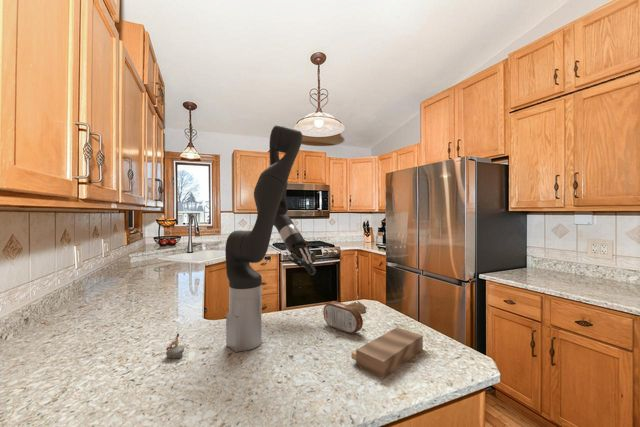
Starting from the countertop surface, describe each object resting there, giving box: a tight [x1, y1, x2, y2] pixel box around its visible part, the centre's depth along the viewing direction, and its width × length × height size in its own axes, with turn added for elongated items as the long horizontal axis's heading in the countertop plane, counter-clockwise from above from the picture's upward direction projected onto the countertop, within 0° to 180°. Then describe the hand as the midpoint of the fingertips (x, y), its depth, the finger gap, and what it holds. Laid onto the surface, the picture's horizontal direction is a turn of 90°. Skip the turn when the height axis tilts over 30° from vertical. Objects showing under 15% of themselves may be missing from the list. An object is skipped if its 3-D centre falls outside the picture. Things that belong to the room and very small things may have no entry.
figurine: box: [165, 332, 185, 359], centre depth 75 cm, size 5×4×6 cm
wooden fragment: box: [348, 300, 367, 314], centre depth 109 cm, size 26×11×1 cm, turn 155°
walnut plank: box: [350, 326, 424, 380], centre depth 74 cm, size 20×10×4 cm, turn 134°
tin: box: [322, 300, 364, 335], centre depth 92 cm, size 15×3×8 cm, turn 47°
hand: (313, 273), depth 101 cm, fingers closed
